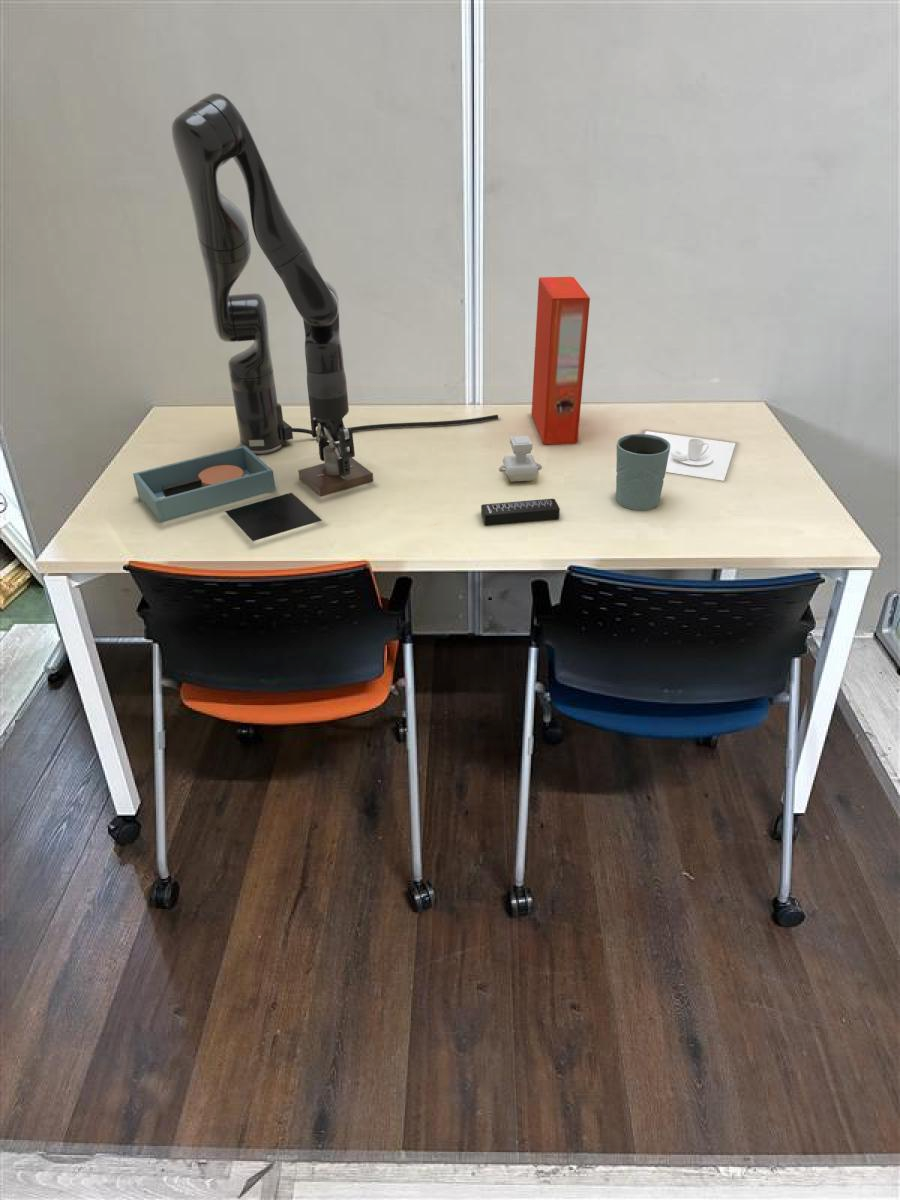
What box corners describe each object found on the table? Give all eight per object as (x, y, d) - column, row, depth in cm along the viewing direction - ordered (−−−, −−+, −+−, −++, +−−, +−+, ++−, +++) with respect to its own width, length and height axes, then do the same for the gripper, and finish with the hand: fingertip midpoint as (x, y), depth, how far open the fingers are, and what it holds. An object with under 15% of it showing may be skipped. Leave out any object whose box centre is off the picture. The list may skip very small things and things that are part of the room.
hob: (292, 497, 173) (291, 492, 172) (322, 525, 163) (322, 520, 162) (225, 516, 166) (224, 511, 166) (253, 546, 157) (252, 541, 156)
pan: (236, 476, 180) (233, 459, 177) (252, 492, 173) (249, 475, 171) (159, 496, 172) (155, 479, 170) (173, 514, 166) (169, 496, 164)
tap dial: (322, 470, 176) (319, 446, 173) (339, 465, 178) (337, 441, 175) (331, 477, 173) (328, 453, 170) (348, 472, 175) (346, 448, 172)
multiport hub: (559, 519, 164) (560, 508, 162) (484, 525, 162) (484, 515, 161) (553, 508, 167) (554, 498, 166) (480, 514, 166) (480, 504, 164)
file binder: (564, 414, 207) (573, 276, 189) (578, 443, 193) (590, 297, 175) (531, 415, 206) (537, 277, 188) (543, 444, 192) (550, 298, 174)
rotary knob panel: (351, 468, 183) (349, 455, 181) (373, 486, 176) (372, 472, 175) (299, 483, 178) (298, 469, 176) (321, 501, 171) (319, 487, 169)
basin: (248, 469, 184) (245, 445, 181) (276, 495, 174) (272, 470, 170) (138, 498, 173) (132, 473, 170) (161, 527, 163) (155, 501, 160)
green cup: (631, 516, 164) (638, 458, 157) (600, 495, 172) (605, 439, 165) (673, 504, 168) (682, 447, 161) (641, 484, 175) (648, 429, 169)
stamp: (500, 486, 176) (501, 447, 171) (496, 472, 181) (497, 434, 176) (544, 483, 176) (546, 445, 171) (538, 469, 182) (540, 432, 177)
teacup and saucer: (667, 463, 183) (670, 445, 181) (674, 448, 189) (676, 431, 187) (709, 469, 180) (712, 451, 178) (715, 454, 187) (718, 437, 184)
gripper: (362, 397, 162) (368, 475, 172) (328, 376, 172) (335, 450, 182) (326, 405, 159) (334, 484, 168) (294, 383, 169) (303, 459, 178)
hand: (335, 467), depth 175 cm, fingers open, 8 cm apart
